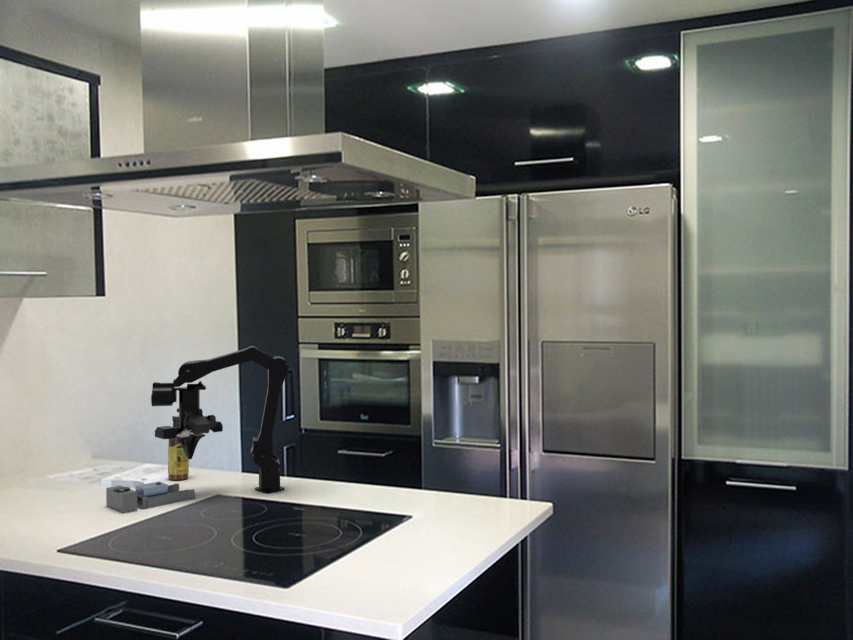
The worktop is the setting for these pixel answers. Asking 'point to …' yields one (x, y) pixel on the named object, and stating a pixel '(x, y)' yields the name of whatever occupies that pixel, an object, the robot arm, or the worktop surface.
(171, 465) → the sauce bottle
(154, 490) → the block
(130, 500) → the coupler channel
